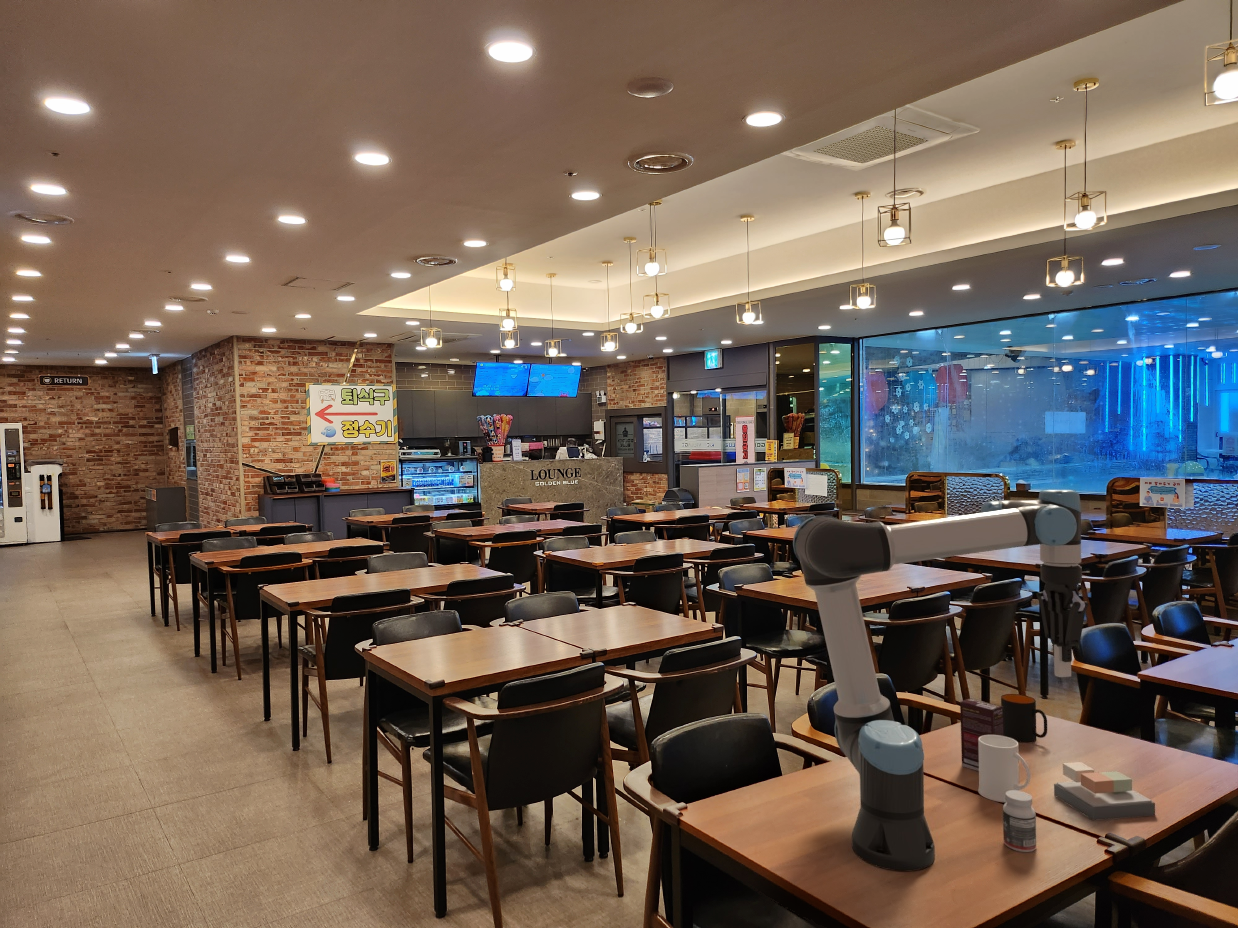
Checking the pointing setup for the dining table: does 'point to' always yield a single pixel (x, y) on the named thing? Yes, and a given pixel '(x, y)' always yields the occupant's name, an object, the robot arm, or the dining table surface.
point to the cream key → (1076, 770)
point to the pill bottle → (1019, 821)
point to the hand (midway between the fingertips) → (1062, 675)
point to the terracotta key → (1097, 782)
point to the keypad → (1104, 802)
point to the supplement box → (977, 728)
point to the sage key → (1119, 781)
